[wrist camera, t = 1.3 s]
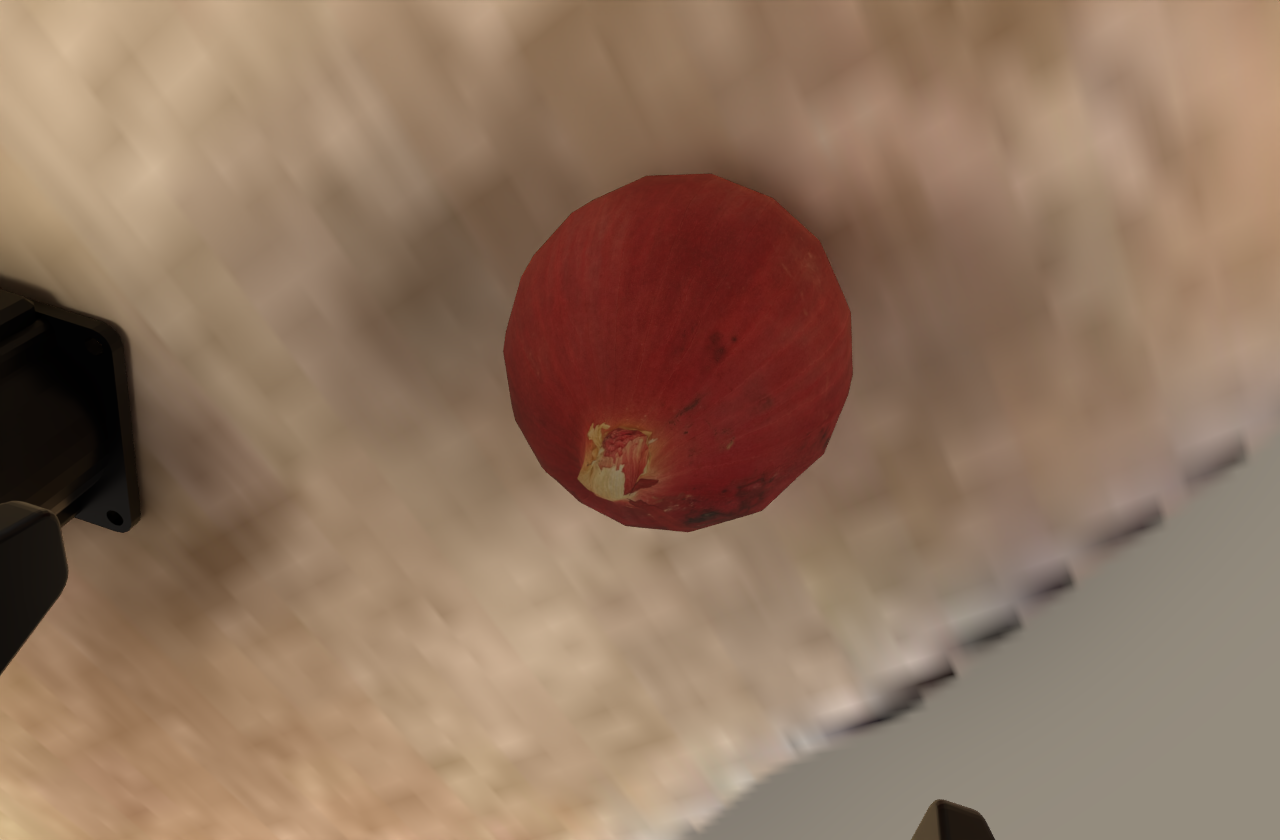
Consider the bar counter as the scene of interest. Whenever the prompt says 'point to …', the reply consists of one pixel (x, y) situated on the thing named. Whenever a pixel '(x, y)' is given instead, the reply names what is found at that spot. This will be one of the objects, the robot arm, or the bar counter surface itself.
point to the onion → (678, 352)
